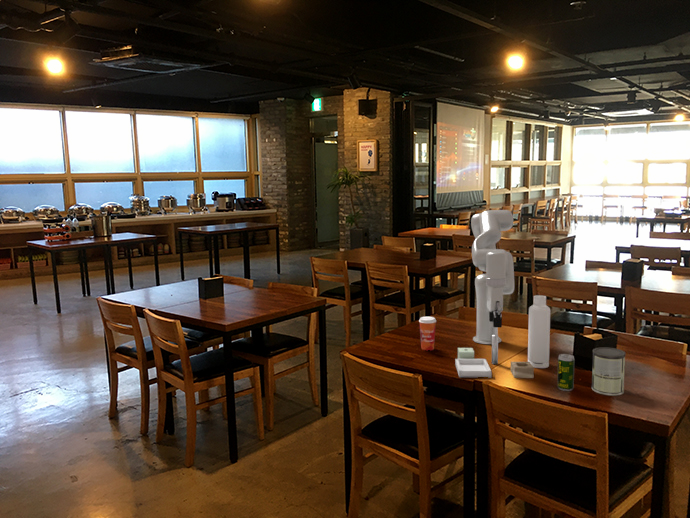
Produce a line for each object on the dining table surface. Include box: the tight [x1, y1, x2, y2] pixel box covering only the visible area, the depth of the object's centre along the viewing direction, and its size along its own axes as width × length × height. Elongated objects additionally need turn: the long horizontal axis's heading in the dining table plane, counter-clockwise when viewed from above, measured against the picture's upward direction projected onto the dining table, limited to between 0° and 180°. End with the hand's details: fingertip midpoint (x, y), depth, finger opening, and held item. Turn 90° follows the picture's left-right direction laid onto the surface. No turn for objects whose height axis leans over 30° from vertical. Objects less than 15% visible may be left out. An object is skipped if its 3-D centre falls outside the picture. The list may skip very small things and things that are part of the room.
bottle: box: [527, 294, 551, 369], centre depth 219 cm, size 8×8×28 cm
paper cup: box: [418, 316, 437, 352], centre depth 245 cm, size 8×8×14 cm
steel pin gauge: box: [491, 334, 499, 366], centre depth 222 cm, size 2×2×12 cm
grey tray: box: [454, 358, 492, 379], centre depth 215 cm, size 15×12×2 cm
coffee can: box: [591, 346, 627, 396], centre depth 191 cm, size 10×10×14 cm
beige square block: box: [510, 361, 535, 379], centre depth 209 cm, size 7×7×4 cm
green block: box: [457, 347, 475, 359], centre depth 227 cm, size 6×6×5 cm
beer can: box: [556, 353, 575, 392], centre depth 194 cm, size 5×5×12 cm
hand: (495, 324), depth 221 cm, fingers open, 9 cm apart
